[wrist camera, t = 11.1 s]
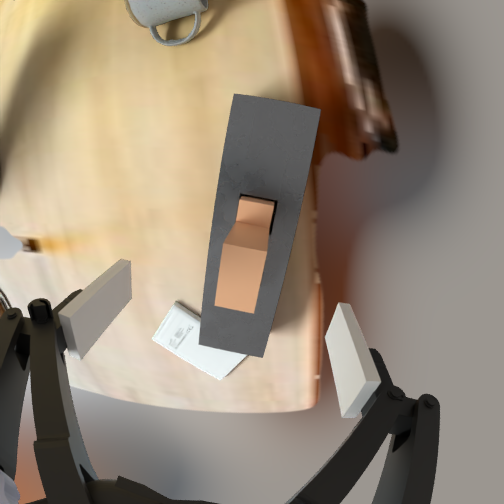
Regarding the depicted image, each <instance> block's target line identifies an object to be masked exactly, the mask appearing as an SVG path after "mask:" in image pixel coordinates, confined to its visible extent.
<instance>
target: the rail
mask: <svg viewBox="0 0 504 504" xmlns="http://www.w3.org/2000/svg"><path fill="white" fill-rule="evenodd" d="M320 112H321V109H317V108H313V107H309V106H304V105H300V104H295V103H290V102H285V101H280V100H274V99H268V98H262V97H256V96H249V95H241V94H234V96H233V101H232V106H231V111H230V117H229V122H228V127H227V133H226V138H225V144H224V150H223V156H222V162H221V168H220V174H219V180H218V187H217V193H216V200H215V206H214V213H213V220H212V228H211V235H210V243H209V250H208V258H207V267H206V275H205V284H204V293H203V302H202V312H201V322H200V333H199V344H198V345H203V346H207V347H211V348H216V349H220V350H225V351H230V352H235V353H240V354H245V355H250V356H256V357H261V358H263V355H264V352H265V348H266V344H267V341H268V337H269V334H270V330H271V326H272V323H273V319H274V315H275V312H276V308H277V304H278V300H279V296H280V292H281V289H282V285H283V281H284V277H285V273H286V269H287V265H288V261H289V257H290V252H291V248H292V244H293V240H294V236H295V231H296V227H297V223H298V218H299V214H300V210H301V205H302V201H303V196H304V192H305V187H306V182H307V178H308V173H309V168H310V163H311V158H312V153H313V148H314V143H315V138H316V133H317V128H318V123H319V117H320ZM244 194H246V195H252V196H257V197H262V198H267V199H272V200H276V205H275V210H274V215H273V220H272V222H271V223H270V228H269V238H268V249H267V255H266V260H265V264H264V269H263V274H262V278H261V283H260V288H259V292H258V297H257V301H256V306H255V311H254V314H253V313H248V312H243V311H238V310H233V309H228V308H224V307H219V306H214V305H215V298H216V290H217V283H218V276H219V269H220V262H221V255H222V248H223V243H224V241H225V239H226V238H227V236H228V234H229V232H230V231H231V229H232V227H233V225H234V224H235V222H236V217H237V211H238V205H239V200H240V198H241V197H242V196H244Z"/></svg>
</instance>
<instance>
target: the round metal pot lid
mask: <svg viewBox="0 0 504 504" xmlns="http://www.w3.org/2000/svg"><path fill="white" fill-rule="evenodd" d="M0 296H1V297H2V298H3V300H4V301H5V303H6V305H7V307H8V309H9V308H10V307H9V305H8V303H7V300H6V299H5V297H4V295H3V294H2V293H1V292H0ZM5 311H6V309H5V306H4V304H3V302H2V301H1V300H0V318H1V316H2V314H3V313H4V312H5Z"/></svg>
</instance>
